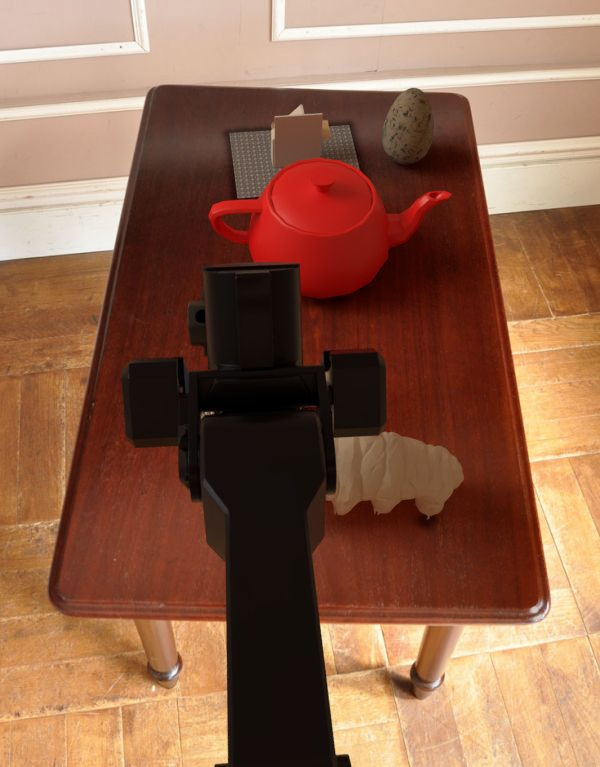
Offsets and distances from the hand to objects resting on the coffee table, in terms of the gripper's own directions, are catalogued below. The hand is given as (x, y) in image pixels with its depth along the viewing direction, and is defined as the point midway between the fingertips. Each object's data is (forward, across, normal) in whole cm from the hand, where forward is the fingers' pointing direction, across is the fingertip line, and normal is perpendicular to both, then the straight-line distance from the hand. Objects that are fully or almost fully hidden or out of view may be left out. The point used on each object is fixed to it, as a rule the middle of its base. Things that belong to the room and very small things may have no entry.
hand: (253, 376), depth 70 cm
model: (+6, -9, +13) cm, 17 cm away
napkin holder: (+38, -6, -19) cm, 43 cm away
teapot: (+27, -9, -8) cm, 29 cm away
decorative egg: (+37, -20, -19) cm, 46 cm away
